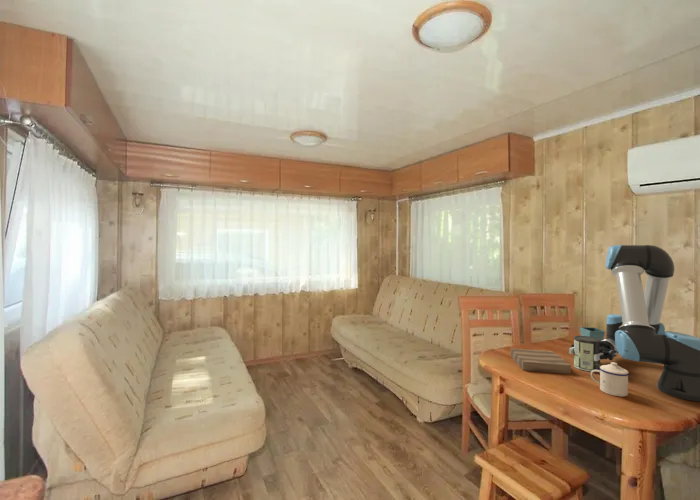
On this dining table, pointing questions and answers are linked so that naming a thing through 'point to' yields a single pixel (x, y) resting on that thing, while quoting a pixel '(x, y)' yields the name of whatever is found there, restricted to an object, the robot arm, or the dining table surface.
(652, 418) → the dining table surface
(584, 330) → the flower pot
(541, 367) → the walnut block
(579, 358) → the coffee can
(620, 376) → the teacup with lid
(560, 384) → the dining table surface
